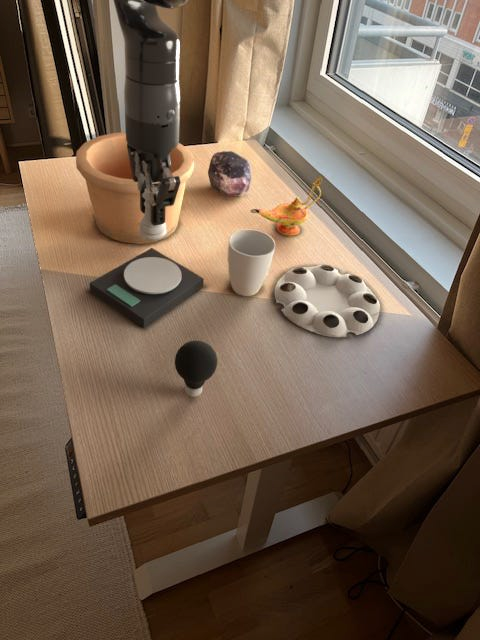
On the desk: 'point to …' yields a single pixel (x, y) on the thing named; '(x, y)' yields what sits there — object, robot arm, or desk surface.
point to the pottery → (124, 186)
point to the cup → (249, 260)
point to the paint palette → (327, 300)
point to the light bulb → (195, 365)
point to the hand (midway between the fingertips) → (152, 217)
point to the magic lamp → (289, 213)
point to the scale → (146, 286)
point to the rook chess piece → (146, 226)
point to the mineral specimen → (229, 173)
